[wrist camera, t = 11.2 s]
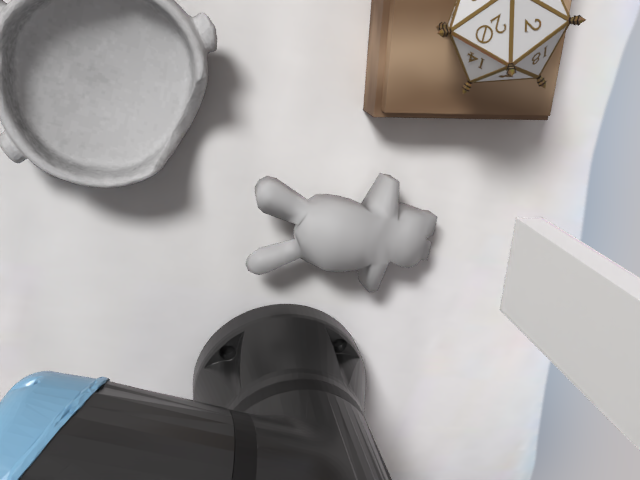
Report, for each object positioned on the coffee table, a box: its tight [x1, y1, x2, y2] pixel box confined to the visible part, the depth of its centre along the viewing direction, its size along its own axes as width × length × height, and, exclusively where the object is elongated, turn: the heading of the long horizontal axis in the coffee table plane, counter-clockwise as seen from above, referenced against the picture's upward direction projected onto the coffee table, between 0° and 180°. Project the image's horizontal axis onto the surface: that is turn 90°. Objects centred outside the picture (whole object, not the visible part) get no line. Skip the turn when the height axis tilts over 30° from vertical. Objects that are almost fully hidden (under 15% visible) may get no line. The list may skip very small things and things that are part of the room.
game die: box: [436, 0, 586, 94], centre depth 38 cm, size 9×8×10 cm
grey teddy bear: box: [246, 173, 437, 292], centre depth 47 cm, size 10×5×15 cm
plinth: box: [363, 0, 572, 120], centre depth 43 cm, size 14×14×4 cm
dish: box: [0, 0, 217, 188], centre depth 40 cm, size 14×14×5 cm
